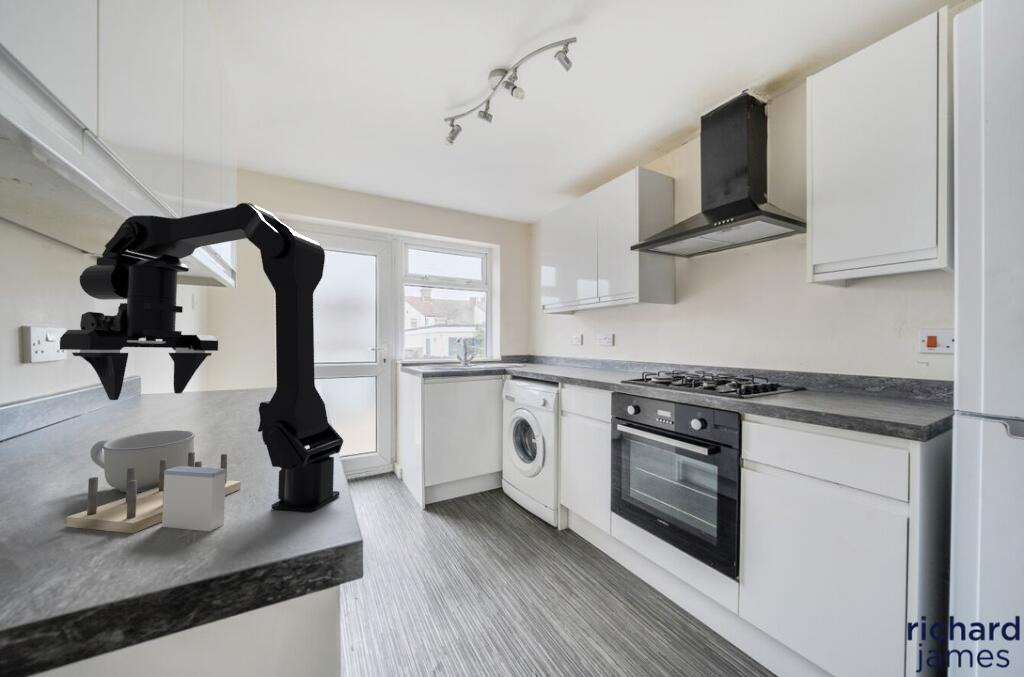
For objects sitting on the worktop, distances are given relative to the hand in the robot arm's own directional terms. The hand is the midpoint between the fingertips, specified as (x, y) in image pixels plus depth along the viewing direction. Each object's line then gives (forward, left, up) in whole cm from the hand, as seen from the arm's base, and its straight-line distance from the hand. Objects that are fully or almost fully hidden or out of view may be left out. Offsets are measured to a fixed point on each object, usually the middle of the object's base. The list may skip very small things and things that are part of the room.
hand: (148, 396), depth 60 cm
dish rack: (-9, +4, -15) cm, 18 cm away
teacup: (+3, -2, -15) cm, 15 cm away
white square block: (-19, +9, -15) cm, 26 cm away
